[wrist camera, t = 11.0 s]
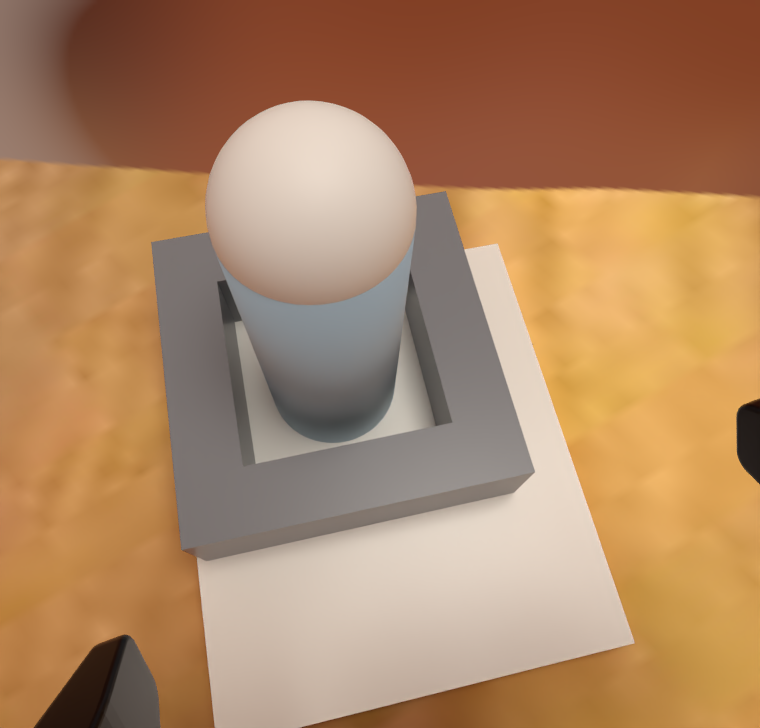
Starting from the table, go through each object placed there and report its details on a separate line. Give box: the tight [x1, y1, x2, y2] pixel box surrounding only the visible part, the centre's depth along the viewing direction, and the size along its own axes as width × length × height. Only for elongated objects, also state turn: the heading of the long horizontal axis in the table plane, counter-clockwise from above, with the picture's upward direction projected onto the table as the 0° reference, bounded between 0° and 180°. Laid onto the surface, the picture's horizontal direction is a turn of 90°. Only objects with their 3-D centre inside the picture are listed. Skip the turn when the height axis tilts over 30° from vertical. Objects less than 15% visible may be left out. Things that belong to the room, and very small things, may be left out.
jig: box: [151, 191, 635, 728], centre depth 21 cm, size 16×13×4 cm
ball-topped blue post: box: [205, 101, 417, 443], centre depth 17 cm, size 4×4×12 cm
